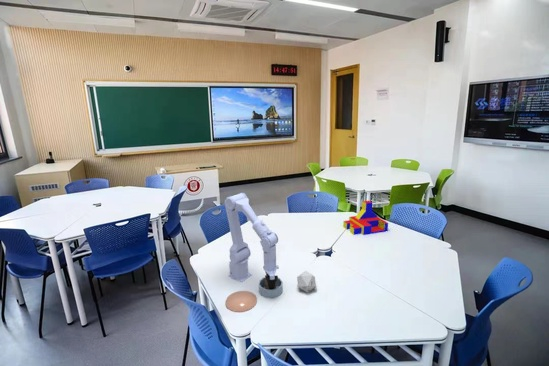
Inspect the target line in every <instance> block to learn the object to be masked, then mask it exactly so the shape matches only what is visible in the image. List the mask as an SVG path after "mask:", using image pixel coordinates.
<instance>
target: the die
mask: <svg viewBox="0 0 549 366" xmlns="http://www.w3.org/2000/svg"><path fill="white" fill-rule="evenodd" d="M296 278H297V279H296V281H297V287H298V288H299V289H301V290H302V291H303V292H306V293H309V292H310V291H312V290H313V289H314V288H316V287H317V283H316V282H317V281H316V276H315V275H313V274H311V273H310V272H309V271H308V270H304V271H303V272H302V273H300V274H299V275H297V277H296Z"/></svg>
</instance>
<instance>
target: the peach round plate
mask: <svg viewBox="0 0 549 366" xmlns="http://www.w3.org/2000/svg"><path fill="white" fill-rule="evenodd" d="M257 302H258V297H257V295H256V294H254V293H253V292H252V291H249V290H239V291H235V292H233V293H231V294H229V295H228V296H227V297H226V299H225V307H226V309H227V310H229V311H231V312H233V313H244V312H248V311H250V310H252V309H253V308H255V306H256V305H257Z"/></svg>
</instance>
